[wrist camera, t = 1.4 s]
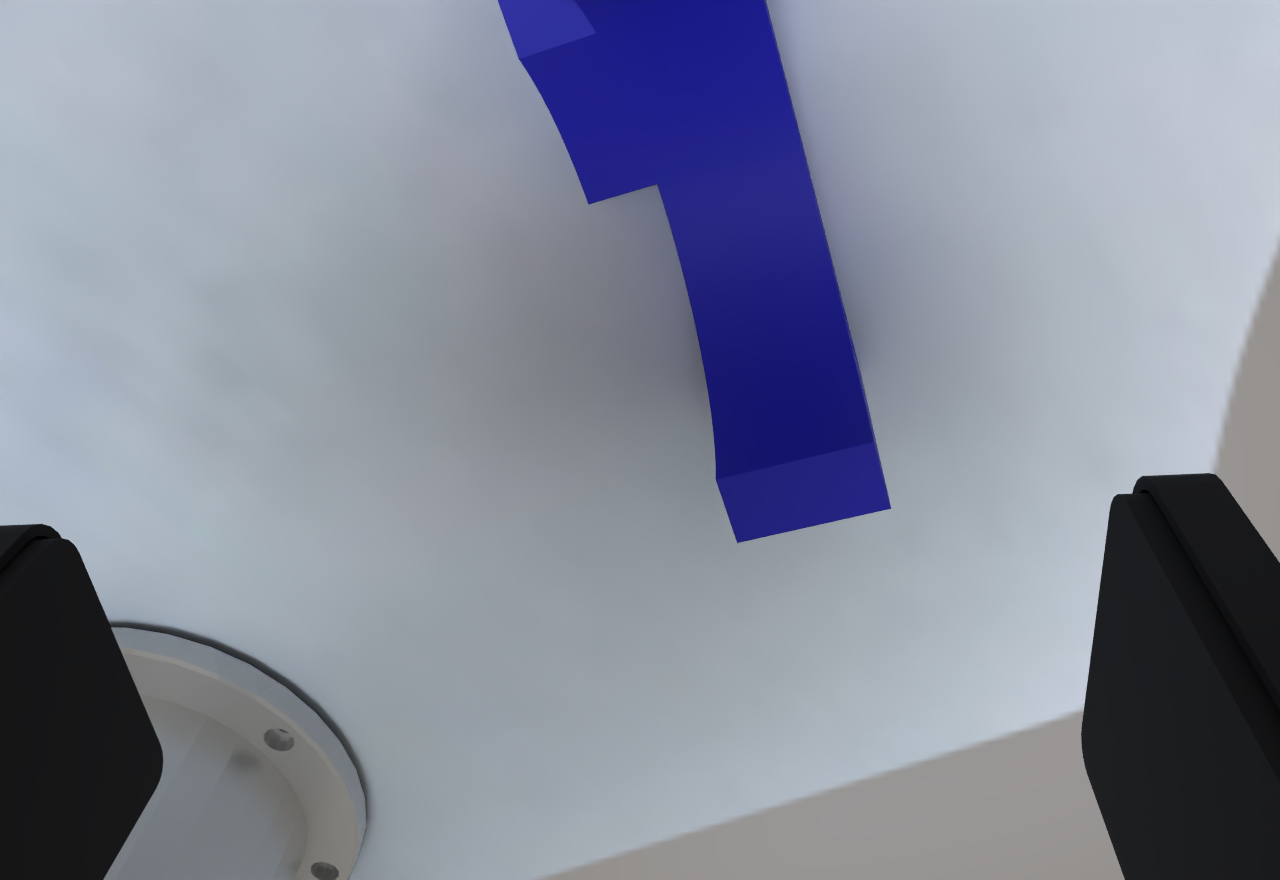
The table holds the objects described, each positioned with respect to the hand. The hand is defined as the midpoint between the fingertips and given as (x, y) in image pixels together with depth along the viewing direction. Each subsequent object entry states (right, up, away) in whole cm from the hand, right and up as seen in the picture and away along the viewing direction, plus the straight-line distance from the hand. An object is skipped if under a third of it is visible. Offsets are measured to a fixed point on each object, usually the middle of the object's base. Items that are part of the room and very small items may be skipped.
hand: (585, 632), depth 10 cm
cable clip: (+2, +8, +14) cm, 16 cm away
